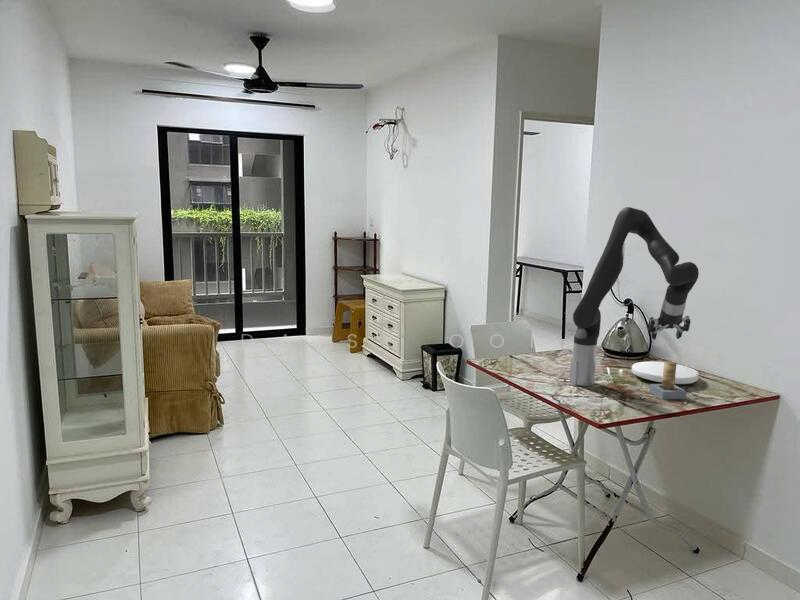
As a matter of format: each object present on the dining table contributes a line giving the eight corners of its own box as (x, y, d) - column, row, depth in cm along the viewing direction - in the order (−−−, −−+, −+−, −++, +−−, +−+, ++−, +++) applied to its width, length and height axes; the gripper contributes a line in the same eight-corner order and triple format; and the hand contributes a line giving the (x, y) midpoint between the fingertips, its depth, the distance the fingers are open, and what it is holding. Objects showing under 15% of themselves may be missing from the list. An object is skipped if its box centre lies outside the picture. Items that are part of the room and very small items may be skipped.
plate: (626, 357, 266) (689, 361, 260) (625, 371, 266) (688, 376, 261) (639, 368, 238) (709, 373, 233) (638, 383, 239) (708, 389, 233)
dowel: (665, 397, 226) (667, 364, 224) (659, 393, 230) (661, 361, 228) (675, 396, 227) (678, 364, 224) (669, 393, 231) (672, 361, 229)
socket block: (662, 399, 223) (662, 391, 223) (649, 391, 233) (650, 384, 232) (685, 398, 224) (686, 391, 224) (672, 390, 234) (672, 383, 233)
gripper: (691, 299, 213) (682, 329, 224) (650, 301, 215) (643, 331, 226) (696, 314, 208) (687, 344, 219) (654, 315, 210) (648, 345, 221)
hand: (665, 337), depth 222 cm, fingers open, 8 cm apart
